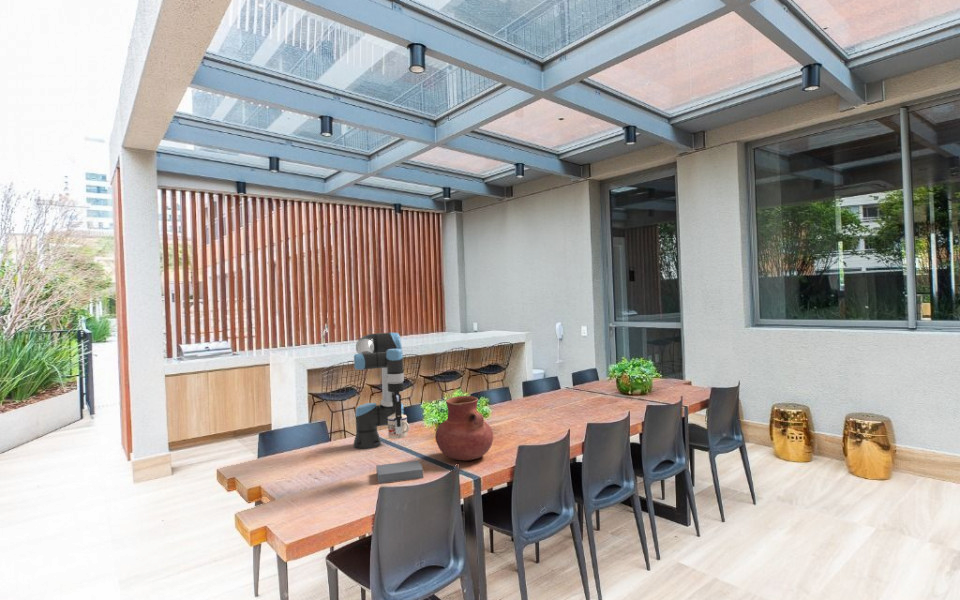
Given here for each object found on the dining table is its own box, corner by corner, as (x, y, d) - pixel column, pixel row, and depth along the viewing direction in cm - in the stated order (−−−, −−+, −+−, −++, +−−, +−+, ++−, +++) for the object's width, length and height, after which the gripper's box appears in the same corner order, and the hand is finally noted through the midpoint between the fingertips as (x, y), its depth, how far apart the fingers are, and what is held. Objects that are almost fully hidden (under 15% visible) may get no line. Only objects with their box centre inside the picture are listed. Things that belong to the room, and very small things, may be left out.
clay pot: (425, 458, 257) (422, 399, 257) (469, 445, 276) (466, 391, 276) (461, 471, 234) (458, 407, 235) (506, 456, 254) (503, 397, 254)
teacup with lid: (383, 437, 231) (382, 412, 231) (398, 432, 238) (397, 408, 238) (401, 441, 223) (400, 414, 223) (416, 436, 230) (415, 410, 231)
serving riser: (376, 473, 236) (376, 465, 236) (419, 468, 241) (418, 460, 241) (378, 484, 222) (378, 475, 222) (423, 478, 227) (423, 469, 227)
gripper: (385, 379, 241) (387, 426, 241) (389, 386, 220) (391, 437, 220) (401, 378, 243) (403, 424, 243) (406, 385, 222) (408, 435, 222)
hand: (397, 431), depth 232 cm, fingers closed on teacup with lid, 9 cm apart
